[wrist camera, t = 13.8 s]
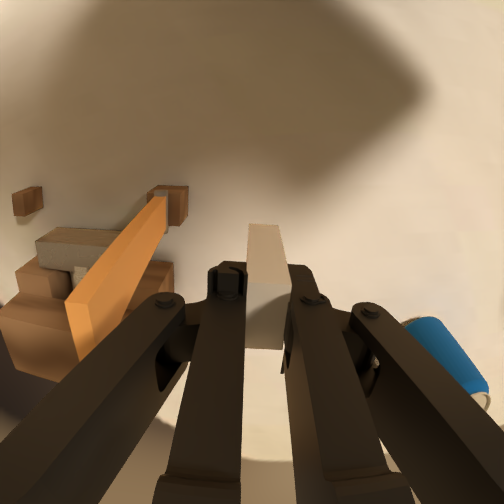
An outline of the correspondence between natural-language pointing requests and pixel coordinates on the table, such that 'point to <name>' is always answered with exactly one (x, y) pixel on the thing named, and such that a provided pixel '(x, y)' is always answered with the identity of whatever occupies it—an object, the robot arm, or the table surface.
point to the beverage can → (450, 357)
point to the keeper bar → (115, 277)
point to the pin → (73, 250)
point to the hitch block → (58, 290)
